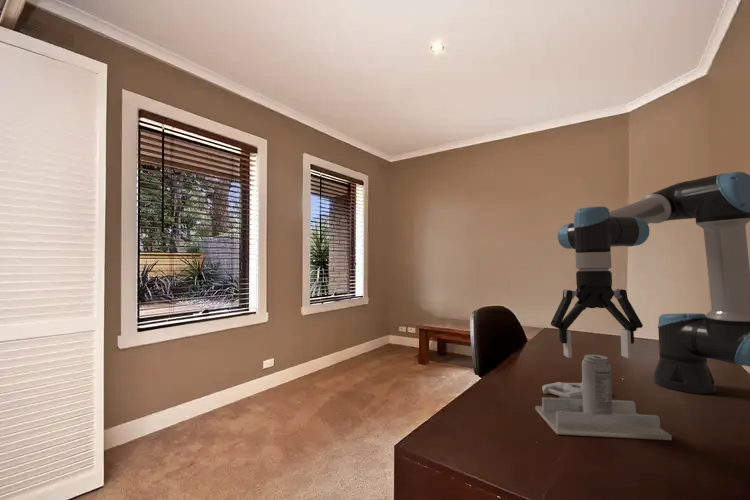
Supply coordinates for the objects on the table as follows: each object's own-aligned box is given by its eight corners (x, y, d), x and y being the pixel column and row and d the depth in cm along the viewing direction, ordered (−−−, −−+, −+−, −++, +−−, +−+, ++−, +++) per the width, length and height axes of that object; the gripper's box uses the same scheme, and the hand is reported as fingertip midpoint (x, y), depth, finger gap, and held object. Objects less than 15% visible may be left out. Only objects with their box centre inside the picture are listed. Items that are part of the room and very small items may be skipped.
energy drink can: (598, 413, 89) (596, 353, 90) (618, 423, 83) (616, 359, 84) (577, 414, 88) (575, 354, 89) (596, 425, 82) (594, 360, 83)
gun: (580, 374, 114) (610, 384, 105) (581, 384, 114) (611, 395, 105) (537, 383, 108) (564, 395, 99) (537, 394, 108) (565, 407, 99)
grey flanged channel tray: (632, 413, 92) (631, 398, 92) (671, 440, 78) (671, 421, 78) (535, 409, 94) (535, 394, 94) (557, 434, 80) (556, 416, 80)
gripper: (637, 269, 90) (641, 353, 89) (535, 270, 93) (538, 352, 92) (658, 269, 83) (662, 361, 82) (546, 270, 85) (549, 360, 84)
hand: (596, 357), depth 87 cm, fingers open, 13 cm apart
